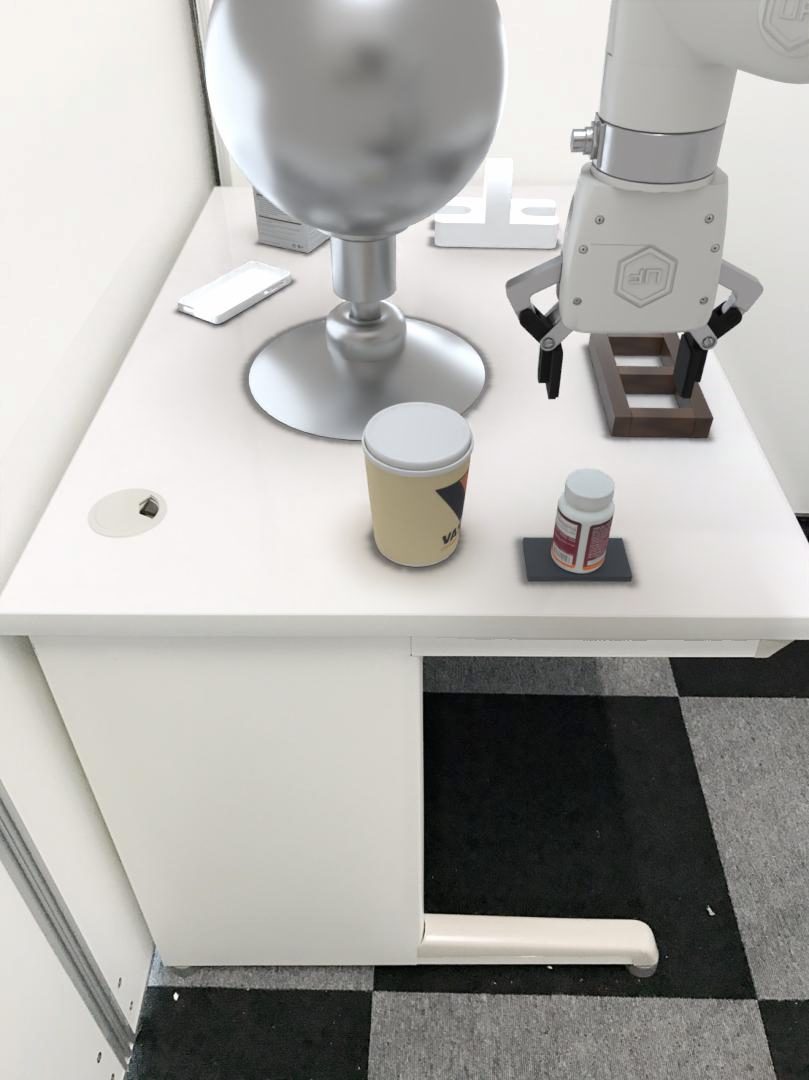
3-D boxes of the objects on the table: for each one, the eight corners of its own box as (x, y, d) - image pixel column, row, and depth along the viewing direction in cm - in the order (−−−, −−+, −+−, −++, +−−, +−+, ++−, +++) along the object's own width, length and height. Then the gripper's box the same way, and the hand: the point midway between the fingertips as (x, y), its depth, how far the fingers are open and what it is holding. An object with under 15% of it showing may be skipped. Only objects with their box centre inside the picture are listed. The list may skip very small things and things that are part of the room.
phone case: (253, 268, 120) (176, 310, 111) (252, 259, 119) (174, 300, 110) (293, 281, 117) (218, 325, 108) (292, 272, 116) (216, 315, 107)
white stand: (435, 220, 132) (437, 148, 125) (551, 222, 132) (560, 150, 125) (434, 246, 125) (436, 171, 118) (556, 248, 125) (566, 173, 118)
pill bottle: (602, 540, 77) (617, 466, 71) (605, 576, 74) (622, 502, 68) (549, 536, 77) (560, 463, 72) (550, 573, 74) (562, 498, 68)
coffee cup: (461, 579, 74) (467, 470, 66) (356, 567, 75) (350, 458, 67) (472, 511, 81) (480, 404, 73) (376, 501, 82) (373, 395, 74)
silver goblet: (533, 372, 100) (590, -110, 69) (359, 473, 85) (334, -77, 55) (373, 294, 114) (362, -132, 84) (201, 370, 100) (113, -111, 69)
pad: (621, 542, 78) (622, 537, 77) (631, 581, 74) (632, 576, 74) (522, 542, 78) (523, 537, 77) (528, 580, 74) (528, 575, 74)
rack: (671, 348, 104) (676, 329, 102) (708, 437, 90) (713, 417, 88) (587, 347, 104) (590, 328, 102) (611, 436, 90) (615, 416, 88)
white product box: (289, 221, 132) (280, 118, 122) (339, 232, 129) (334, 127, 119) (256, 243, 126) (243, 136, 116) (308, 254, 123) (299, 146, 113)
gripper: (518, 170, 50) (502, 418, 61) (819, 166, 49) (746, 417, 60) (510, 131, 55) (496, 364, 67) (780, 127, 55) (720, 363, 66)
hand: (615, 389), depth 63 cm, fingers open, 9 cm apart
